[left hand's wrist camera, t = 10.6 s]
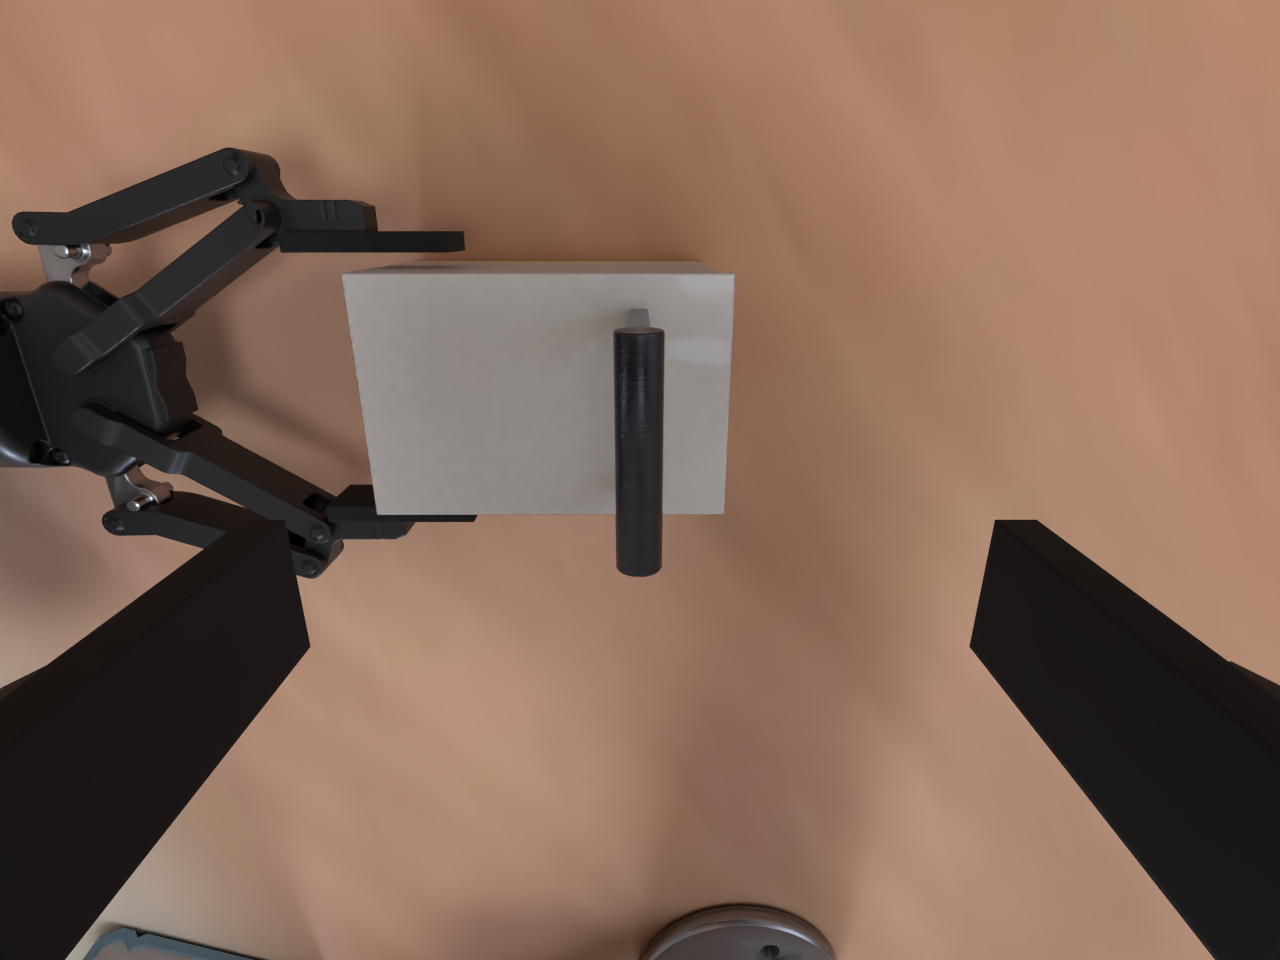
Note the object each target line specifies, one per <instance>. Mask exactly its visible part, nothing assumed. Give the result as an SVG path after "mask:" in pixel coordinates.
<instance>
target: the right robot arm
mask: <svg viewBox="0 0 1280 960" xmlns="http://www.w3.org/2000/svg"><path fill="white" fill-rule="evenodd" d="M238 199H241V200H239V201H237V202H238V204H243V205H244V206H243V207H241V208H240V209H239V210H237V211H236V212H235V213H234V214H232V215H231V216H230V217H229V218H227V219H226V220H225V221H224V222H222V223H221V224H220V225H219V226H217V227H216V228H215V229H214V230H212V231H211V232H210V233H209V234H207V235H206V236H205V237H204V238H202V239H201V240H200V241H199V242H197V243H196V244H195V245H194V246H192V247H191V248H190V249H188V250H187V251H186V252H185V253H183V254H182V255H181V256H180V257H178V258H177V259H176V260H175V261H173V262H172V263H171V264H170V265H168V266H167V267H166V268H165V269H163V270H162V271H161V272H160V273H158V274H157V275H156V276H155V277H153V278H152V279H151V280H150V281H148V282H147V283H146V284H145V285H143V286H142V287H141V288H139V289H138V290H137V291H135V292H133V293H131V294H129V295H126V296H124V297H122V298H118V297H116V296H115V295H113V294H112V293H110V292H108V291H107V290H105V289H104V288H102V287H100V286H99V285H97V284H95V283H93V282H91V281H89V280H88V273H89V270H90V268H91V267H93V266H94V265H98V264H101V263H103V262H104V261H105V259H106V257H107V256H109V255H111V253H112V248H111V246H110V245H109V244H118V243H125V242H130V241H133V240H137V239H140V238H142V237H145V236H147V235H150V234H152V233H155V232H157V231H160V230H162V229H165V228H167V227H170V226H172V225H175V224H177V223H180V222H182V221H185V220H187V219H190V218H192V217H195V216H197V215H200V214H202V213H205V212H207V211H210V210H212V209H215V208H217V207H220V206H222V205H225V204H227V203H230V202H232V201H235V200H238ZM12 227H13V230H14V232H15V234H16V235H17V236H18V238H19V239H20V240H22V241H23V242H25V243H27V244H32V245H38V248H39V252H40V256H41V259H42V263H43V267H44V270H45V274H46V277H47V281H48V282H47V283H45V284H43V285H41V286H40V287H39V288H37V289H36V290H34V291H32V292H0V467H67V466H74V467H79V468H83V469H86V470H88V471H91V472H93V473H95V474H97V475H100V476H104V477H105V479H106V482H107V485H108V488H109V491H110V494H111V497H112V501H113V504H114V507H115V508H114V509H112V510H110V511H108V512H107V513H105V514H104V515H103V517H102V524H103V526H104V528H105V529H106V530H107V531H108V532H109V533H112V534H114V535H119V536H126V535H158V536H162V537H165V538H169V539H172V540H176V541H179V542H183V543H186V544H190V545H193V546H197V547H200V548H204V549H205V548H206V547H207V546H209V545H210V544H211V543H213V542H214V541H216V540H217V539H218V538H220V537H221V536H222V535H224V534H225V533H226V532H228V531H229V530H230V529H232V528H233V527H234V526H236V525H237V524H239V523H240V522H241V521H243V520H285V523H286V528H287V533H288V538H289V543H290V548H291V553H292V558H293V563H294V568H295V573H296V575H298V576H302V577H306V578H311V579H313V578H317V577H319V576H320V575H321V574H322V573H323V572H324V571H325V570H326V569H327V567H328V566H329V565H330V564H331V563H332V562H333V561H334V560H335V559H336V558H337V557H338V555H339V554H340V553H341V552H342V551H343V549H344V543H343V541H342V540H343V539H397V538H400V537H402V536H405V535H406V534H407V533H408V532H409V530H410V529H411V528H412V526H413V525H414V524H415V522H474V521H475V519H476V517H477V515H378V514H377V510H376V504H375V497H374V490H373V485H350V486H348V487H347V488H346V489H345V490H344V491H343V492H342V493H341V494H339V495H338V496H337V497H335V496H334V495H332V494H330V493H328V492H326V491H324V490H322V489H321V488H319V487H317V486H315V485H313V484H311V483H309V482H308V481H306V480H304V479H302V478H300V477H298V476H296V475H295V474H293V473H291V472H289V471H287V470H285V469H283V468H282V467H280V466H278V465H276V464H274V463H272V462H270V461H269V460H267V459H265V458H263V457H261V456H259V455H257V454H256V453H254V452H252V451H250V450H248V449H246V448H244V447H242V446H241V445H239V444H237V443H235V442H233V441H231V440H229V439H228V438H226V437H224V436H223V435H222V430H221V429H220V428H219V427H217V426H215V425H213V424H212V423H210V422H208V421H206V420H204V419H202V418H200V417H199V416H197V415H195V414H193V412H194V411H197V410H198V407H197V402H196V398H195V394H194V392H193V390H192V388H191V386H190V384H189V382H188V380H187V378H186V356H185V352H184V348H183V343H182V342H176V341H175V339H174V337H173V336H172V335H171V333H172V332H173V331H174V330H175V329H177V328H178V327H179V326H181V325H182V324H183V323H185V322H186V321H187V320H188V319H190V318H191V317H192V316H193V315H194V314H195V310H196V309H198V308H199V307H200V306H201V305H203V304H204V303H205V302H207V301H208V300H209V299H211V298H212V297H213V296H214V295H216V294H217V293H218V292H220V291H221V290H222V289H223V288H225V287H226V286H227V285H229V284H230V283H231V282H233V281H234V280H235V279H236V278H238V277H239V276H240V275H242V274H243V273H244V272H246V271H247V270H248V269H249V268H251V267H252V266H253V265H255V264H256V263H257V262H259V261H260V260H261V259H262V258H264V257H265V256H266V255H268V254H269V253H270V252H272V251H273V250H274V249H275V248H277V247H278V246H279V245H280V250H281V252H454V251H462V250H465V244H464V233H463V231H378V227H377V219H376V212H375V206H372V205H370V204H367V203H365V202H363V201H354V200H297V199H295V198H293V197H292V196H291V195H290V194H289V193H288V192H287V191H286V189H285V188H284V186H283V184H282V182H281V180H280V168H279V165H278V163H277V162H276V161H275V159H273V158H272V157H271V156H269V155H266V154H261V153H256V152H251V151H246V150H241V149H235V148H224V149H221V150H219V151H216V152H214V153H211V154H209V155H207V156H204V157H202V158H199V159H197V160H194V161H192V162H190V163H187V164H185V165H182V166H180V167H177V168H175V169H172V170H170V171H168V172H165V173H163V174H160V175H158V176H155V177H153V178H150V179H148V180H146V181H143V182H141V183H138V184H136V185H133V186H131V187H128V188H126V189H124V190H121V191H119V192H116V193H114V194H111V195H109V196H106V197H104V198H102V199H99V200H97V201H94V202H92V203H89V204H87V205H85V206H82V207H80V208H77V209H75V210H72V211H70V212H67V213H65V212H19V213H17V214H16V215H15V216H14V217H13V220H12ZM176 437H178V439H176V440H174V439H175V438H176ZM145 463H146V464H148V465H150V466H152V467H154V468H156V469H158V470H160V471H162V472H165V473H169V474H182V475H184V476H186V477H188V478H190V479H192V480H194V481H196V482H198V483H200V484H202V485H204V486H206V487H208V488H209V489H211V490H213V491H215V492H217V493H219V494H221V495H223V496H225V497H227V498H229V499H231V500H233V501H234V502H236V503H238V504H240V505H242V506H244V507H246V508H244V507H240V506H237V505H234V504H230V503H227V502H223V501H220V500H217V499H213V498H210V497H206V496H203V495H199V494H195V493H190V492H182V491H173V486H172V485H171V484H170V483H168V482H163V483H160V482H157V481H152V480H150V479H148V478H146V477H145V476H144V475H143V473H142V472H141V470H140V467H141V466H142V465H144V464H145ZM247 508H248V509H247Z"/></svg>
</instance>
